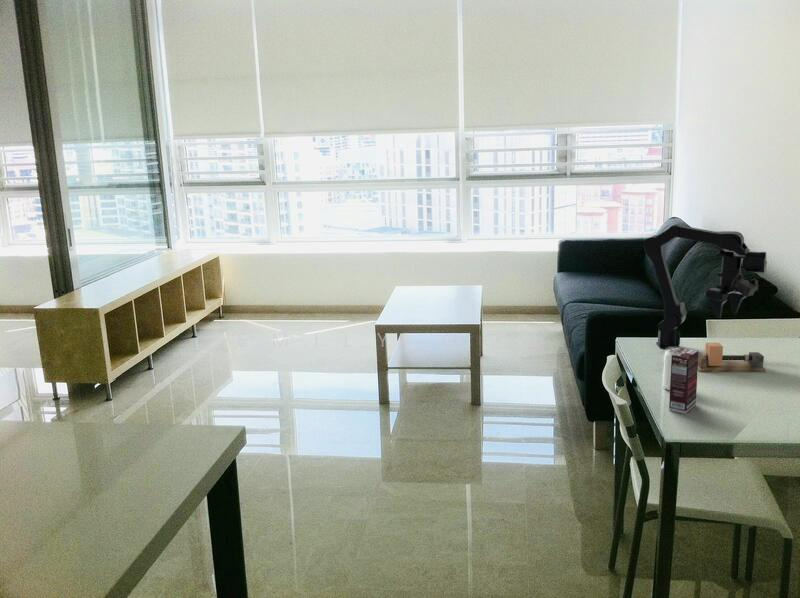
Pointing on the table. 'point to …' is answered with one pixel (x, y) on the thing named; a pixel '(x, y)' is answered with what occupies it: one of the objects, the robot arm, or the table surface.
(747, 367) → the comb rail
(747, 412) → the table surface
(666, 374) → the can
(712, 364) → the sleeve
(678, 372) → the supplement box
